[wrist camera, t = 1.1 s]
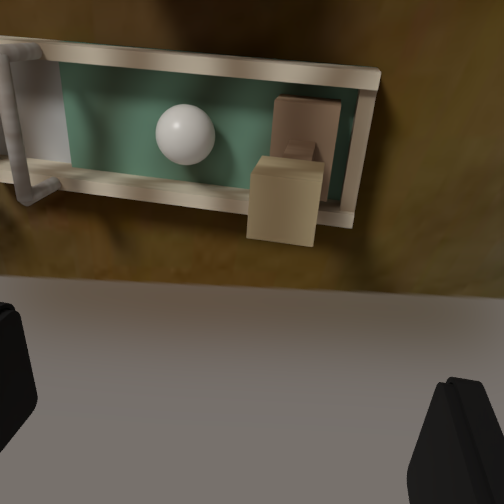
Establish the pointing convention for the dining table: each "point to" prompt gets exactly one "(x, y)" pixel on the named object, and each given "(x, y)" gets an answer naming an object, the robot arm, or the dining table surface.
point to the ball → (185, 134)
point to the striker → (294, 170)
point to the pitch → (149, 112)
